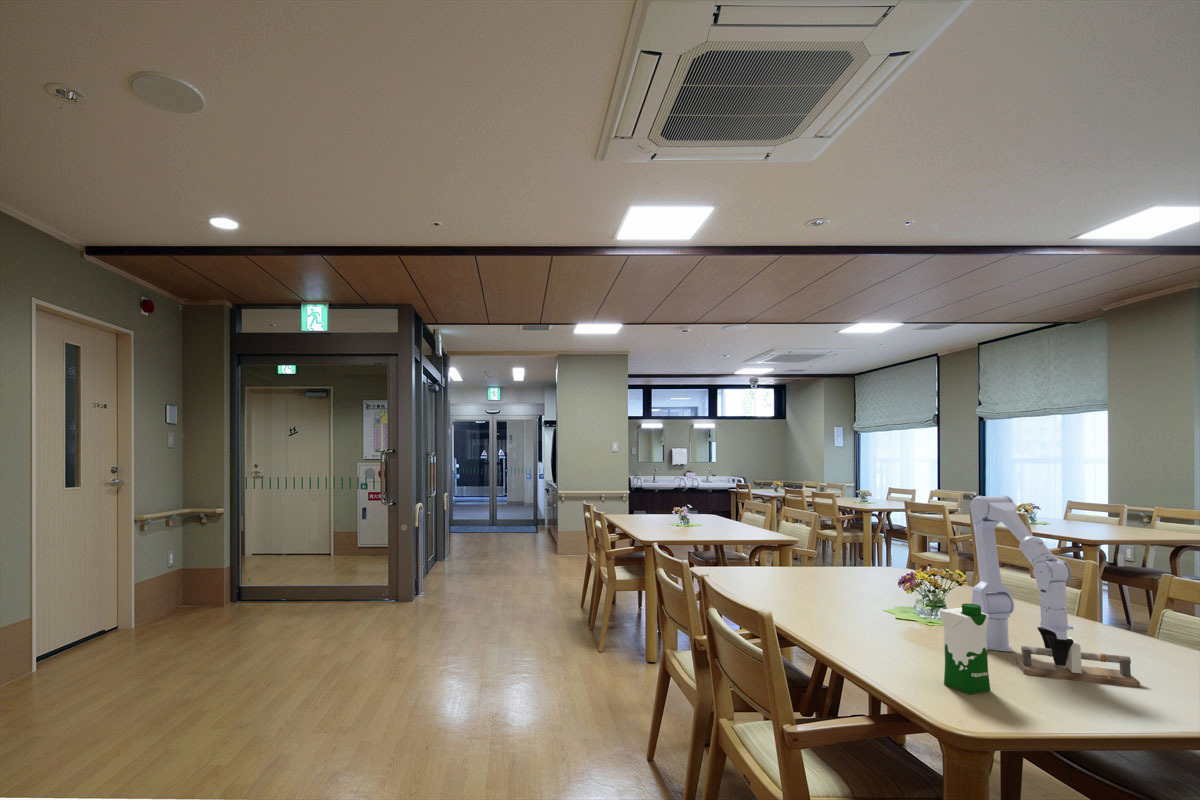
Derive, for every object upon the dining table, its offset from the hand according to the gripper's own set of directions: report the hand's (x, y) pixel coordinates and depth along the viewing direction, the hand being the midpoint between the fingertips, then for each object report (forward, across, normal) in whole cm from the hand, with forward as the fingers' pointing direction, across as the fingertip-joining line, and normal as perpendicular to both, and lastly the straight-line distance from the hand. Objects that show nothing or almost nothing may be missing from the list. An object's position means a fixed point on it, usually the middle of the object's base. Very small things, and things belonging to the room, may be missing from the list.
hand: (1056, 660), depth 168 cm
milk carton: (+3, -21, +23) cm, 31 cm away
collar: (+1, 0, -3) cm, 4 cm away
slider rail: (+3, 0, -4) cm, 5 cm away
